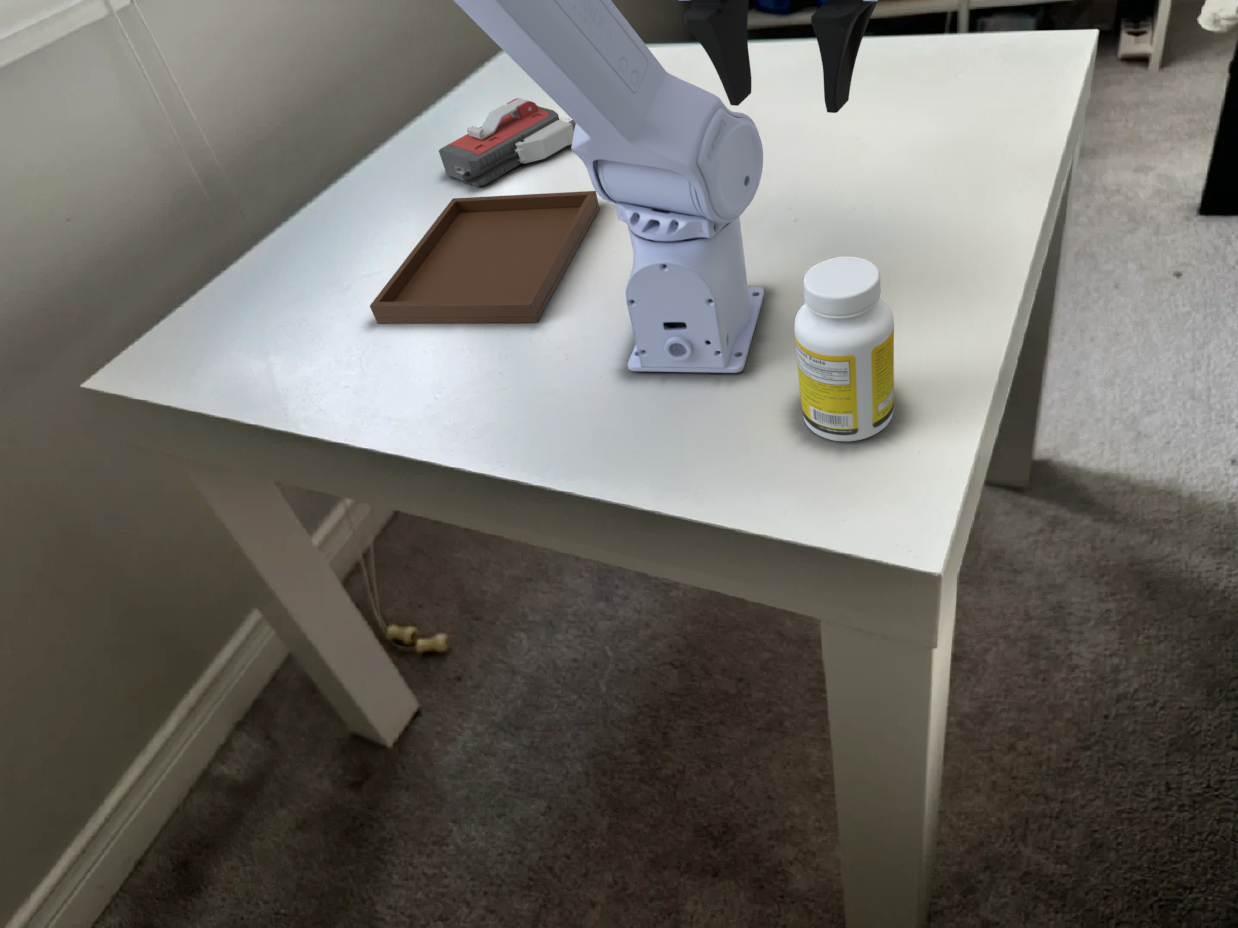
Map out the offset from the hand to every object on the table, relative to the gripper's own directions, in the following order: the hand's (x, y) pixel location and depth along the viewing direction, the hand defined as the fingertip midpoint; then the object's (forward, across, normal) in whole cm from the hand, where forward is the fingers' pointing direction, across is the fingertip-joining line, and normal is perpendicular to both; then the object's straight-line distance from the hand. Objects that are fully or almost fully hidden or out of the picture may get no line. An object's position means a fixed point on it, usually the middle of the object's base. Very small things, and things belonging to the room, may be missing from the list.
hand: (787, 102), depth 64 cm
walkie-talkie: (+11, +34, -7) cm, 36 cm away
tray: (+10, +22, +12) cm, 27 cm away
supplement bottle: (+10, -13, +19) cm, 25 cm away
